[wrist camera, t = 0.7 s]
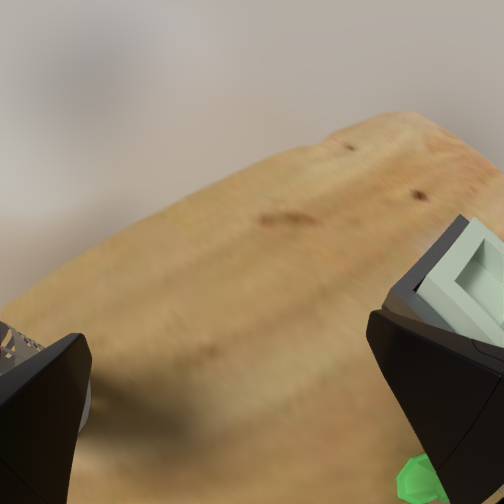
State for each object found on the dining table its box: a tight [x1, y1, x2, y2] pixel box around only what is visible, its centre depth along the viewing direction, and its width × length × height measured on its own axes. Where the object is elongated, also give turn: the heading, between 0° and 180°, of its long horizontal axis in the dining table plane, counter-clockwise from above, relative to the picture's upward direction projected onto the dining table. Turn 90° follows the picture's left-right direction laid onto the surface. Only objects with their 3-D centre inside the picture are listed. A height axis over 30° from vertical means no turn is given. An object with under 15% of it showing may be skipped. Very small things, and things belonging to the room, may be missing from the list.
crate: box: [416, 217, 504, 348], centre depth 16 cm, size 9×8×4 cm
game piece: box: [396, 453, 450, 504], centre depth 10 cm, size 4×4×6 cm
